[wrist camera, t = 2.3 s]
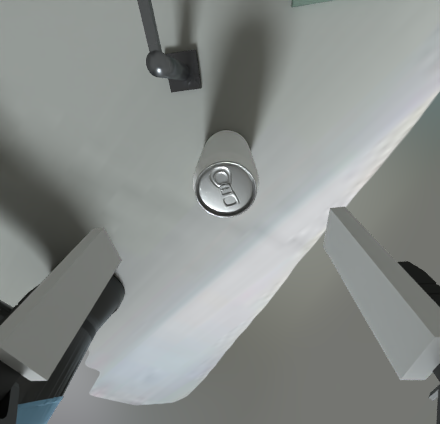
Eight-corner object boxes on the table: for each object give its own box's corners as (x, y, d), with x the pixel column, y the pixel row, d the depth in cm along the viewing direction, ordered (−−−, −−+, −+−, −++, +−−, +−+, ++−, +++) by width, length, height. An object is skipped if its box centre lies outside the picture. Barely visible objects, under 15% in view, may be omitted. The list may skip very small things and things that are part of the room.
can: (241, 121, 26) (249, 144, 16) (255, 166, 29) (269, 209, 19) (196, 140, 28) (177, 171, 17) (213, 181, 31) (206, 228, 21)
